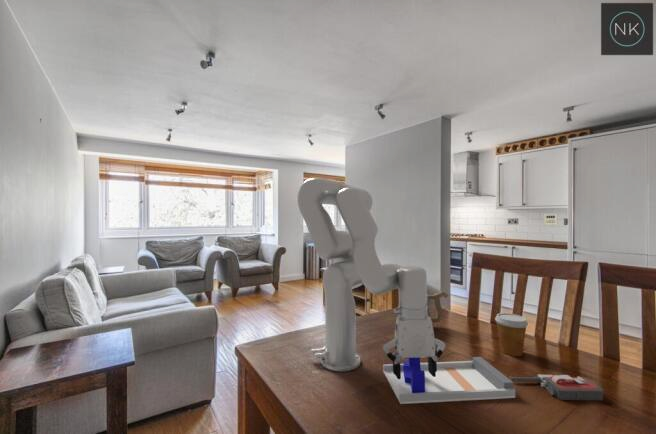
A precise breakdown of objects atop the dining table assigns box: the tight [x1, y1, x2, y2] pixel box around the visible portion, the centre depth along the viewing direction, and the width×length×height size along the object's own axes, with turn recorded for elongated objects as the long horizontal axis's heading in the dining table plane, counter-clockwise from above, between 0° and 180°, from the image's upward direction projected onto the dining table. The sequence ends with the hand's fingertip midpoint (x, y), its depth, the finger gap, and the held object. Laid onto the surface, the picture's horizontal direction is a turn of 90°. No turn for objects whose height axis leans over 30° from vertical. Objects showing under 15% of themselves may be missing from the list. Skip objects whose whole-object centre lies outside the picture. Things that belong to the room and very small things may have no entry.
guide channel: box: [382, 356, 516, 405], centre depth 81 cm, size 30×16×4 cm, turn 95°
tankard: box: [427, 291, 449, 324], centre depth 124 cm, size 20×13×15 cm, turn 88°
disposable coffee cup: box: [494, 312, 529, 357], centre depth 101 cm, size 10×10×12 cm
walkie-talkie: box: [510, 373, 604, 401], centre depth 78 cm, size 9×4×20 cm
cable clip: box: [402, 358, 425, 393], centre depth 80 cm, size 12×4×6 cm, turn 169°
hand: (414, 375), depth 80 cm, fingers open, 9 cm apart
